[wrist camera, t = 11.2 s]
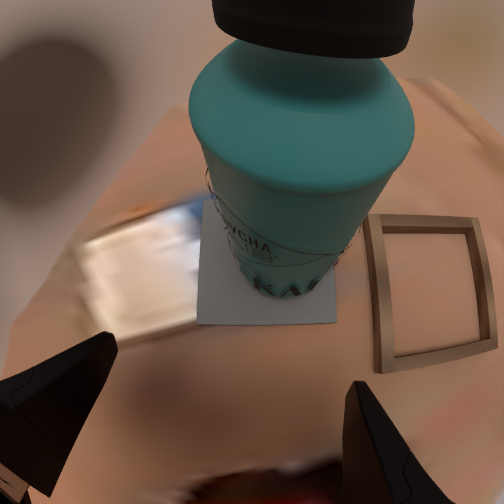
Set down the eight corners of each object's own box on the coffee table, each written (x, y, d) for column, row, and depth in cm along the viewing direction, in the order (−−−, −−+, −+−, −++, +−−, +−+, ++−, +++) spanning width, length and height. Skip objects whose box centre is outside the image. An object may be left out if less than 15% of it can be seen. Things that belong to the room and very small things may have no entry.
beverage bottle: (267, 207, 23) (252, -78, 4) (342, 248, 21) (477, -21, 2) (221, 276, 21) (58, -14, 2) (300, 323, 20) (532, 53, 1)
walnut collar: (487, 349, 18) (497, 348, 17) (374, 372, 19) (381, 373, 17) (469, 224, 22) (478, 217, 20) (362, 222, 23) (367, 214, 21)
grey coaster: (335, 322, 20) (337, 322, 20) (198, 324, 21) (196, 323, 20) (325, 200, 23) (326, 196, 23) (205, 203, 24) (203, 199, 23)
